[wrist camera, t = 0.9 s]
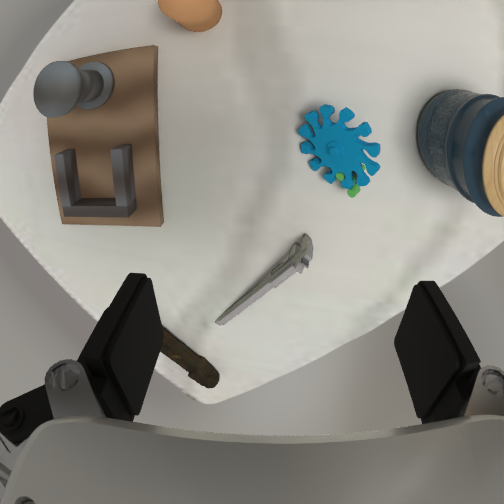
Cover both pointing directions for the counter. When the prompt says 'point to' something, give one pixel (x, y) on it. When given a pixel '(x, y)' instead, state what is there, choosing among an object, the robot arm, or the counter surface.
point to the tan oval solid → (193, 13)
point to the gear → (340, 148)
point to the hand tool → (190, 361)
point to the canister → (466, 145)
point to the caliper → (274, 278)
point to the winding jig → (104, 137)
